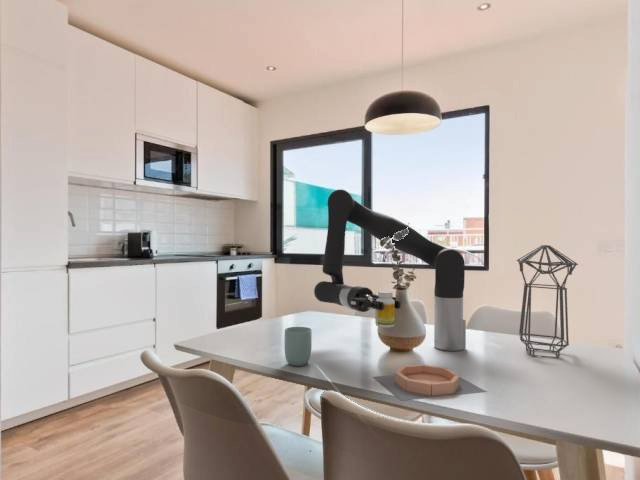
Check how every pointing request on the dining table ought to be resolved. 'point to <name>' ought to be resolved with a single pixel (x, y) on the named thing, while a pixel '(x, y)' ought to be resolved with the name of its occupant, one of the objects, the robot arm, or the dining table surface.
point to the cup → (298, 345)
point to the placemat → (403, 394)
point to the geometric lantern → (561, 288)
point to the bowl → (427, 379)
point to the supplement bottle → (385, 310)
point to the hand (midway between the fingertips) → (391, 305)
